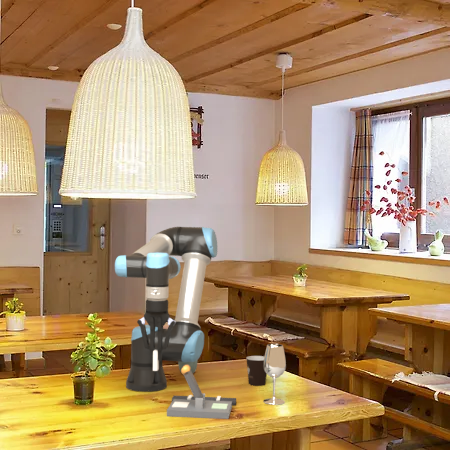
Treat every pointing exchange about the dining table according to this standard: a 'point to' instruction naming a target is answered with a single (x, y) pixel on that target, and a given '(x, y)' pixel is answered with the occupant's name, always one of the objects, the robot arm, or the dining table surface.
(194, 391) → the breaker lever
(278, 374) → the wineglass
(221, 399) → the dressed cords
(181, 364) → the cup
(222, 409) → the breaker panel
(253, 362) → the coffee mug
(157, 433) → the dining table surface
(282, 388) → the dining table surface
